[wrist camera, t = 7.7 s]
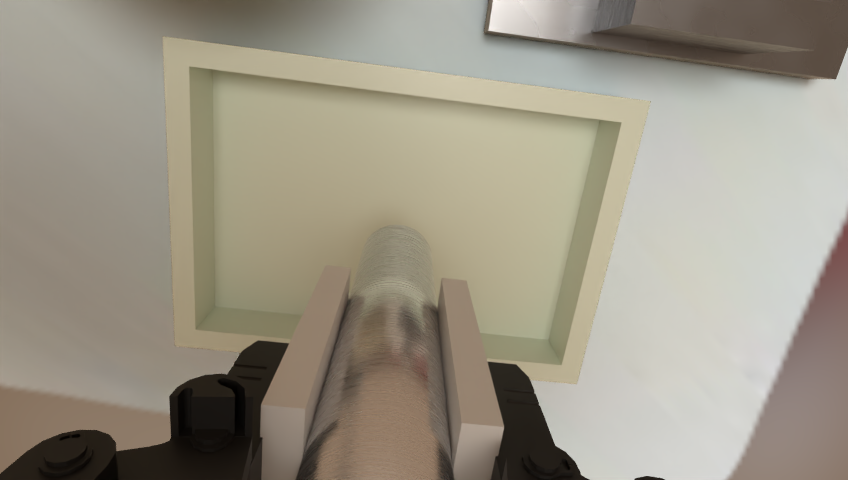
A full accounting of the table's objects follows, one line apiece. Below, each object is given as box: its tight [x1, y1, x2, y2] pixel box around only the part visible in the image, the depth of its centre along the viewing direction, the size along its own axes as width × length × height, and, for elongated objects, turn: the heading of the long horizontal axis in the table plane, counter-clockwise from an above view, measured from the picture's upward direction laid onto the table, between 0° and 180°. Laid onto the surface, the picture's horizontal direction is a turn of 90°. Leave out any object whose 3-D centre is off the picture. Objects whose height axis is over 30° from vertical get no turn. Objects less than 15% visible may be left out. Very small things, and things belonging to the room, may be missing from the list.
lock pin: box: [296, 225, 454, 480], centre depth 13 cm, size 3×3×15 cm
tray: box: [163, 36, 651, 384], centre depth 24 cm, size 20×14×3 cm
